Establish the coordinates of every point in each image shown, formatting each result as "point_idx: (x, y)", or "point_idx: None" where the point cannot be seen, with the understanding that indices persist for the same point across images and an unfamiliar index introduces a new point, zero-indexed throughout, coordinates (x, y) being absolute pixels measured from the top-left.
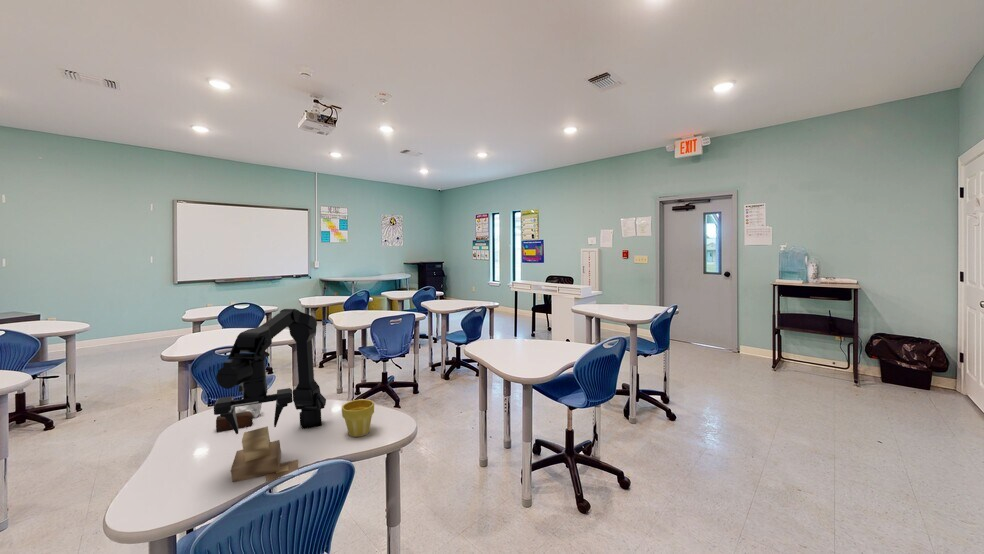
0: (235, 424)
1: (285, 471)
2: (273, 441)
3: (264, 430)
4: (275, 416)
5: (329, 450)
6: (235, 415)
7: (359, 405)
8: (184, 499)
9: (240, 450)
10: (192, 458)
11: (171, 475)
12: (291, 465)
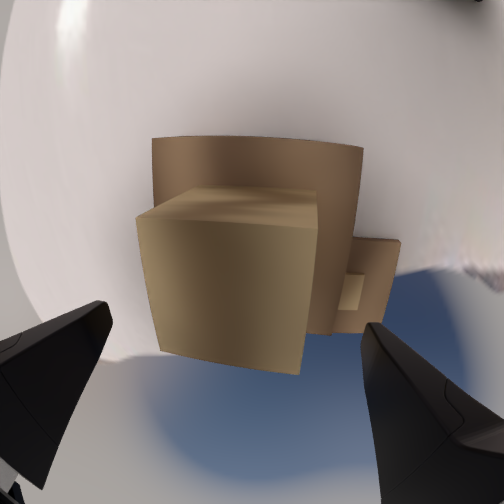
0: (75, 405)
1: (347, 309)
2: (332, 146)
3: (288, 299)
4: (381, 457)
5: (490, 215)
6: (14, 393)
7: None
8: (93, 291)
9: (166, 143)
10: (54, 52)
11: (30, 143)
12: (373, 275)
